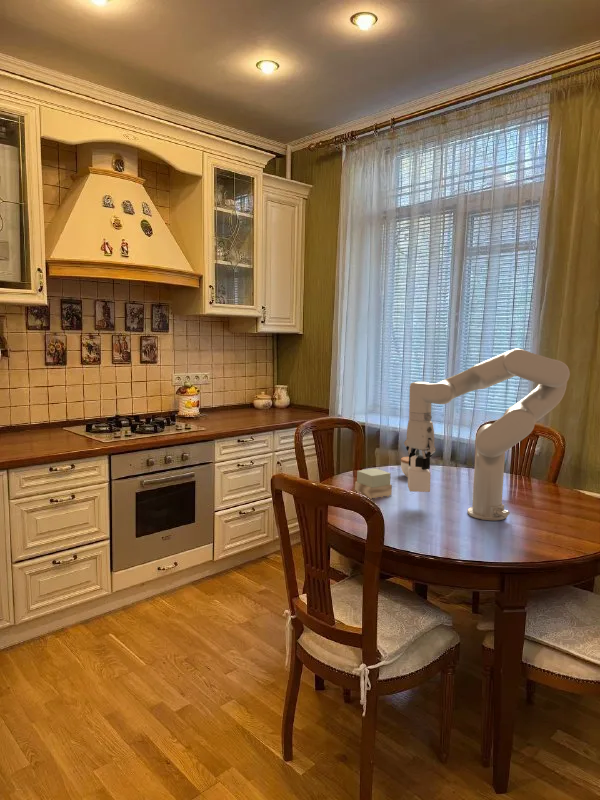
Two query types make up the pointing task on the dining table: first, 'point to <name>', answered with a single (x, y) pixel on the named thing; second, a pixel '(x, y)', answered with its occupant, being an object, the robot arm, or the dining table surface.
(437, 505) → the dining table surface
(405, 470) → the lidded jar
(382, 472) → the tower top block
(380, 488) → the tower bottom block
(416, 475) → the medicine bottle
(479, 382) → the robot arm
